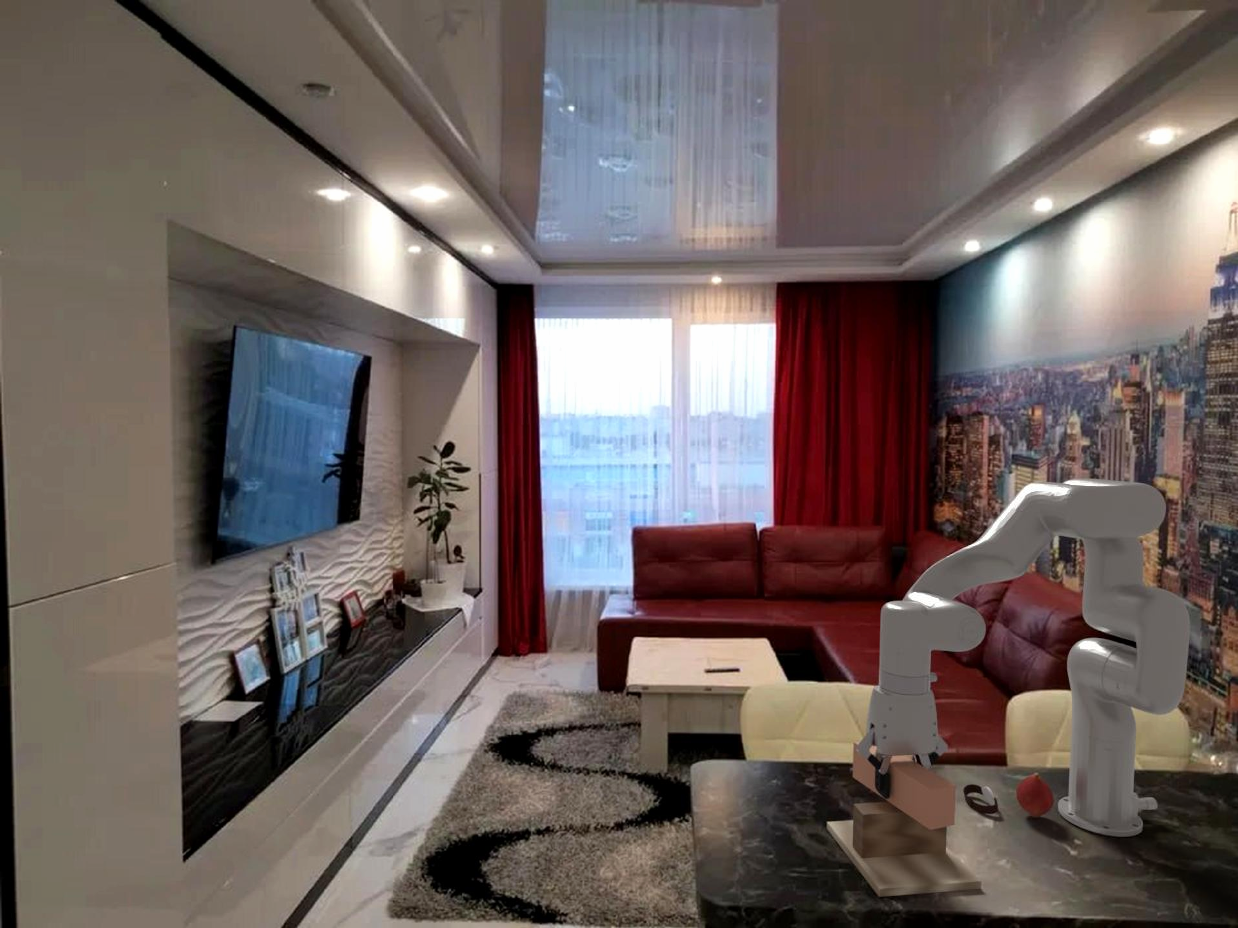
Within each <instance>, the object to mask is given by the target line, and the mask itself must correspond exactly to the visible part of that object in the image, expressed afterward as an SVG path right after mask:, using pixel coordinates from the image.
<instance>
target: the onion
mask: <svg viewBox="0 0 1238 928" xmlns="http://www.w3.org/2000/svg"><path fill="white" fill-rule="evenodd" d="M1015 790H1016V791H1015V796H1016V800H1017V802H1018V803H1019V806H1020V807H1021V808H1022V810H1024V811H1025V812H1026V813H1028V814H1029V815H1030V817H1032V818H1034V819H1038V818H1040V817H1041V816H1043V815H1045V814H1047V813H1048V812H1049V811H1051V809H1053V807H1054V804H1055V801H1054V800H1055V797H1054V794H1053V791H1052V789H1051V787H1050V786H1049V784H1047V782H1045V781H1044V780H1043V779H1041V777H1040V774H1039V773H1038V772H1034V773H1033V774H1032V775H1030V776H1027V777H1025V778H1023V779H1022V780H1021V781H1020V782H1019V784H1018V786H1017V787H1016V789H1015Z"/></svg>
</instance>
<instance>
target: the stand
mask: <svg viewBox="0 0 1238 928" xmlns="http://www.w3.org/2000/svg"><path fill="white" fill-rule="evenodd" d="M852 811H853V815H852V816H853V818H852V819H851V820H849V819H848V820H836V821H826V830H827V832H829V834H830V835H831V836H832V837H833V839H834V840H835V841H836V843H837V844H838V845H839V846H840V848H841V849H842V850H843V852H844V853H845V855H846V856H847V857H848V858H849V859H850V861H851V863H853V865H854V866H855V868H856V869H857V870H858V872H859V873H860V874H861V875H862V877H864V879H865V880H866V881H867V883H868V884H869V886H870V887H871V889H873V891H874V892H875V893H876V895H877V896H878V898H880V897H881V898H882V897H892V896H905V895H908V896H909V895H918V894H932V893H933V894H934V893H944V892H957V891H960V892H961V891H970V890H971V891H972V890H981V889H982V880H981V879H980V878H979V877H978V876H977V875H976V874H975V873H974V872H973V871H972V870H971V869H970V868H969V867H968V866H967V865H966V864H965V863H964V862H963V861H962V860H961V859H960V858H959V857H957V855H955V854H954V852H953V851H951V849H949V848H948V847H947V833H948V832H947V831H948V826H947V827H942V828H938V829H933V830H929V829H928V828H927V827H925V826H924V825H922V824H921V823H919V822H918V821H916V820H915V819H913V818H912V817H910V816H909V815H907V814H906V813H905V812H903V811H902V810H900V809H899V808H897V807H896V806H894V805H893V804H891V803H890V802H888V801H881V802H880V801H879V802H878V801H877V802H863V803H861V802H859V803H853V810H852Z"/></svg>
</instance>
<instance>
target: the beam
mask: <svg viewBox="0 0 1238 928" xmlns="http://www.w3.org/2000/svg"><path fill="white" fill-rule="evenodd" d="M860 742H861V740H859V741H853V754H852V755H853V756H852V778H853V779H855V780H856V781H858V782H859V783H861V784H862V785H864V786H865V787H866V788H868V789H870V791H873V793H876V794H877V795H878V796H880V797H881V798H883V796H882V795H881V794H880V793H879V792H878V791H877V790H876V788H875V767H874V766H873V765H872V764H871V763H870V762H869V761H868V760H867V759H865V758H864V757H863V756H862V755H861V754H860V753H859V752H857V750H856V747H857V745H858V744H859V743H860ZM876 749H877V746H872V747H871V748H870V750H869V751H870V753H872V754H873V755H875V752H876ZM887 772H888V773H889V774H890V798H889V799H884V800H886V802H890V803H891V804H893V805H894V806H896V807H897V808H899V809H900V810H902V811H903V812H905V813H906V814H907V815H909V816H910V817H912V818H913V819H915V820H916V821H918V822H919V823H921V824H922V825H924V826H925V827H927V828H928V829H929V830H933V829H938V828H942V827H947V828H948V827H950V826H951V827H952V826H955V815H956V814H955V813H956V784H954V783H952V782H950V781H949V780H947V779H945V778H944V777H942V776H940V775H939V774H937V773H935V772H933V771H932V770H931V771H930V770H928V769H927V768H925V767H923V766H922V765H920V764H918V763H916V761H915V760H913V759H911V758H910V757H908V756H907V755H902V756H892V758H891V761H890V764H889V767H888V770H887Z"/></svg>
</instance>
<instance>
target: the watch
mask: <svg viewBox="0 0 1238 928" xmlns="http://www.w3.org/2000/svg"><path fill="white" fill-rule="evenodd" d="M962 792H963V795H964V800H965V802H966V804H967V805H968V806H969V807H970V808H973V809H974V810H976V812H977V811H978V812H980V813H982V814H985V815H993V814H996V813H998V811H999V805H998V803H999V802H998V799H997V798H996V796H995V793H994V792H993V791H992V789H991V788H989V787H988V786H986V785H985V786H984V787H982V786H980V785H977V784H966V785H965V786H964V787H963V790H962ZM974 793H975V794H978V795H981V796H983V797H984V799H985V801H986V802H987V803H988V805H983V804H979V803H977V802H975V800H972V799H971V798H970V797H969V796H968V795H970V794H974Z"/></svg>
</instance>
